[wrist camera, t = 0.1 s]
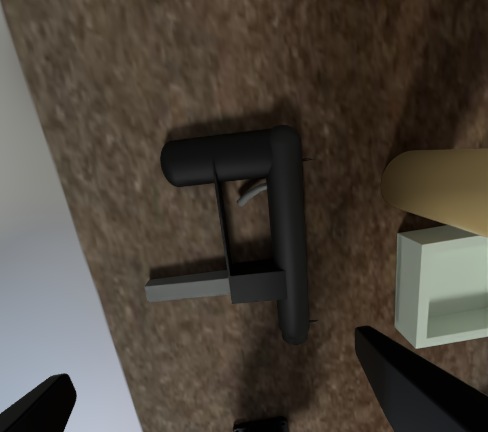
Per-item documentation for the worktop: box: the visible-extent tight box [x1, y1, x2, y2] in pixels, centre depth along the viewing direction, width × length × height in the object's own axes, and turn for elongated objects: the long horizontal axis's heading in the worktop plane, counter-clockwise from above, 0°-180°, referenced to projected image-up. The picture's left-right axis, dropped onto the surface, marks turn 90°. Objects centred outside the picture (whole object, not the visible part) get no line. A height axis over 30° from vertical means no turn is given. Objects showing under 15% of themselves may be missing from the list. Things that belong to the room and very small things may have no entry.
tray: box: [395, 225, 488, 349], centre depth 23 cm, size 11×11×3 cm
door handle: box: [145, 125, 318, 345], centre depth 21 cm, size 3×20×16 cm
